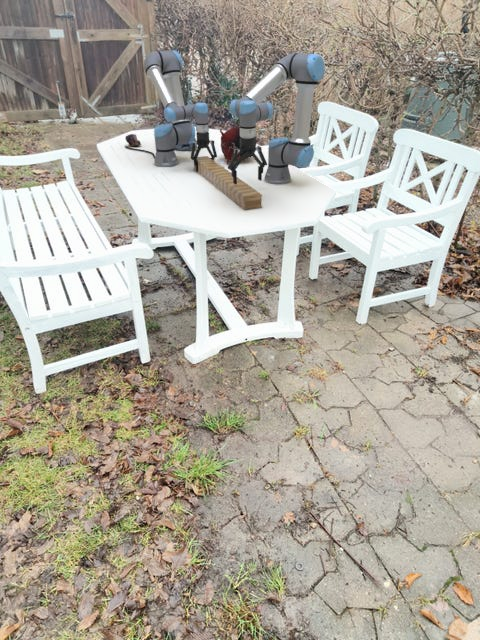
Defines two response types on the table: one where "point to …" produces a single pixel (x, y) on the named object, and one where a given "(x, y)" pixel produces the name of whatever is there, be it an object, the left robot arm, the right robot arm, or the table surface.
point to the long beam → (229, 184)
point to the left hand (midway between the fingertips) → (204, 169)
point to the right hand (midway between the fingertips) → (247, 181)
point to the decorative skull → (231, 143)
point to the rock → (132, 140)
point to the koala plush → (185, 146)
